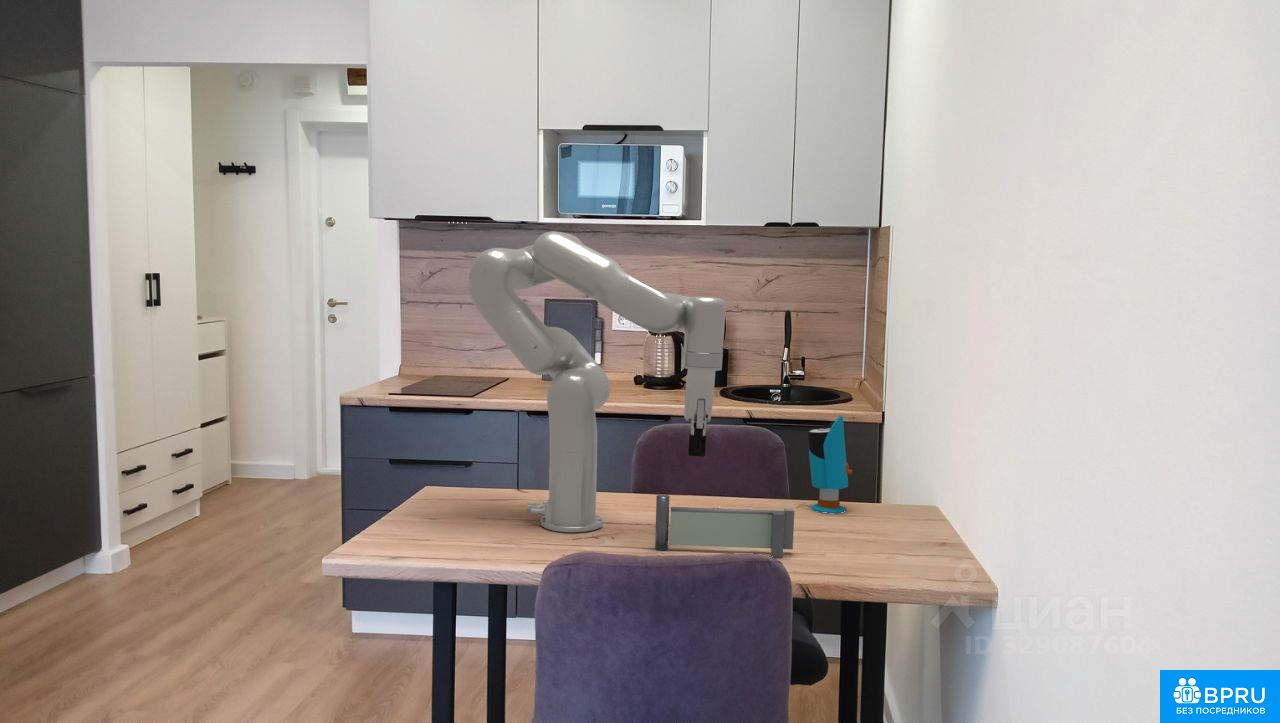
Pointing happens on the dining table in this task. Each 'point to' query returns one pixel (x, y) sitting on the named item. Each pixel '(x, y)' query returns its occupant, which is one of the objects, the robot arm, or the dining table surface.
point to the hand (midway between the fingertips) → (696, 455)
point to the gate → (727, 527)
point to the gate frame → (663, 528)
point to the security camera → (828, 465)
